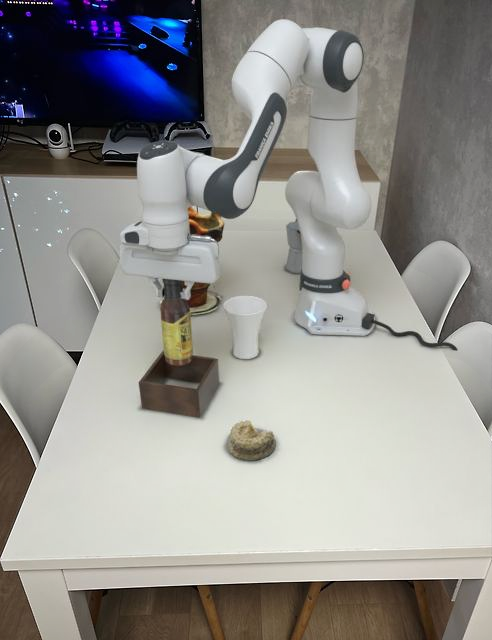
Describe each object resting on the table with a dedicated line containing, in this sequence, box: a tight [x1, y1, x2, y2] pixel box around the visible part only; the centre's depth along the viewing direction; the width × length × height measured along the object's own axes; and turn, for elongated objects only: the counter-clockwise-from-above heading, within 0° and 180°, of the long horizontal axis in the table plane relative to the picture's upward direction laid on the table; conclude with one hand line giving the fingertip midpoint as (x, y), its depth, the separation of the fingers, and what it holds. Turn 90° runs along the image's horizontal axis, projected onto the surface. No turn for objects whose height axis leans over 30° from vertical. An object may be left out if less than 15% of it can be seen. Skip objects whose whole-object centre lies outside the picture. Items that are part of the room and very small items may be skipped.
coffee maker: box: [285, 218, 302, 275], centre depth 196 cm, size 15×9×18 cm, turn 179°
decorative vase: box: [159, 206, 225, 316], centre depth 171 cm, size 21×23×28 cm
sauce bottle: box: [159, 278, 194, 366], centre depth 128 cm, size 7×6×20 cm
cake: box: [226, 419, 277, 462], centre depth 123 cm, size 10×10×5 cm
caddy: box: [138, 350, 220, 418], centre depth 137 cm, size 14×14×7 cm
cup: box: [223, 295, 268, 360], centre depth 151 cm, size 10×10×14 cm
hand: (173, 297), depth 126 cm, fingers closed on sauce bottle, 4 cm apart
